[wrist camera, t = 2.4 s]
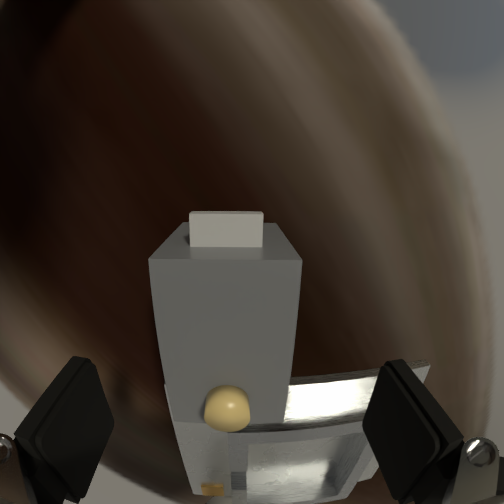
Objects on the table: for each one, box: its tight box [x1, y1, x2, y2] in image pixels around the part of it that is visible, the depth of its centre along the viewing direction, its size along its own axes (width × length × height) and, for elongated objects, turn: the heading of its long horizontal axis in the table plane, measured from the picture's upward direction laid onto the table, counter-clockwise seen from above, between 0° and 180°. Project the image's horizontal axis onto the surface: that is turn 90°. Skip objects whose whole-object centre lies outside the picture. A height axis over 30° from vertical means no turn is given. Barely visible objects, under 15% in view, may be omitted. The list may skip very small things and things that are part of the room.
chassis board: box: [164, 359, 430, 504], centre depth 18 cm, size 16×18×3 cm
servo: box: [148, 211, 302, 432], centre depth 12 cm, size 9×4×7 cm, turn 179°
